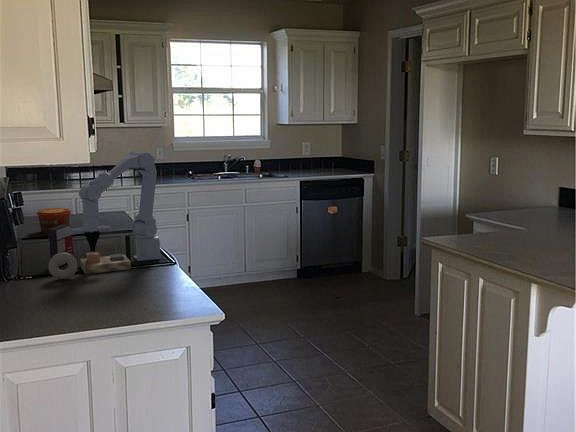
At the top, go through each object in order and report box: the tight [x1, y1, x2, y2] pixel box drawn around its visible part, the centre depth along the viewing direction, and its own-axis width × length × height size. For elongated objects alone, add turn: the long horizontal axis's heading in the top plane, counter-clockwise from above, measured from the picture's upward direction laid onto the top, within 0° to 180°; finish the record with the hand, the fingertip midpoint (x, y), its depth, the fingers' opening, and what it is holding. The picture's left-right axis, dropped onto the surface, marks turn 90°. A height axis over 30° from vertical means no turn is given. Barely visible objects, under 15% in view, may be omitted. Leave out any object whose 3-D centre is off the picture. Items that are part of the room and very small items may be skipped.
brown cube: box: [85, 251, 101, 264], centre depth 234 cm, size 4×4×4 cm
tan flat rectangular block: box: [79, 254, 132, 275], centre depth 236 cm, size 17×12×3 cm
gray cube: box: [109, 253, 124, 261], centre depth 238 cm, size 4×4×4 cm
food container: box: [36, 207, 72, 235], centre depth 301 cm, size 16×16×11 cm
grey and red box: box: [47, 224, 74, 268], centre depth 240 cm, size 11×4×15 cm, turn 168°
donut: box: [47, 252, 79, 280], centre depth 220 cm, size 10×4×10 cm, turn 112°
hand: (92, 251), depth 233 cm, fingers closed
